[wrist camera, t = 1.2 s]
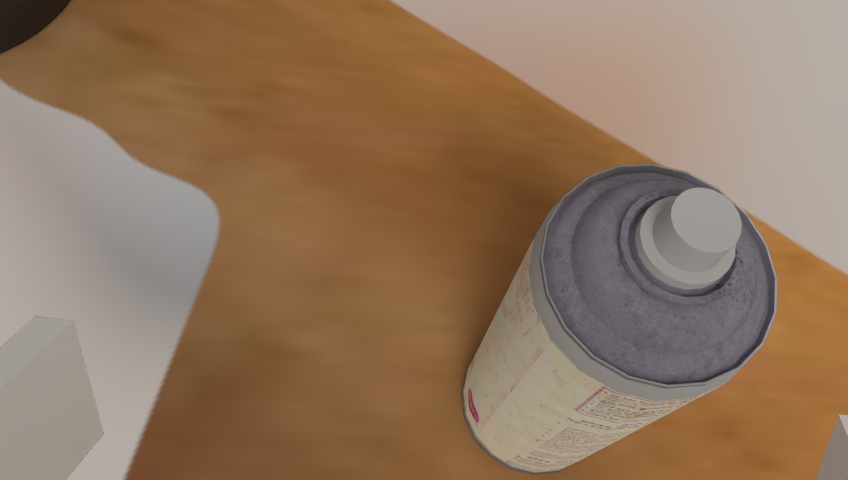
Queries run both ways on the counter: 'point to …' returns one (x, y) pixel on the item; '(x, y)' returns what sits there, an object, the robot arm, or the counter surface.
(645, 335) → the aerosol can
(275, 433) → the counter surface
